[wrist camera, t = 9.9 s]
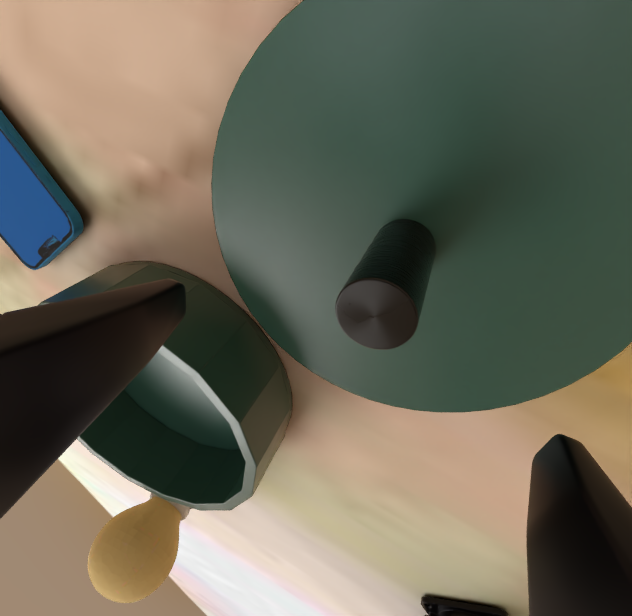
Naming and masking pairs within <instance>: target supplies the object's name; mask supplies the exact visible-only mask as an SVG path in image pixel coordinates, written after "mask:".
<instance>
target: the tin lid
mask: <svg viewBox="0 0 632 616" xmlns="http://www.w3.org/2000/svg"><path fill="white" fill-rule="evenodd" d="M211 184H212V208H213V215H214V221H215V228H216V234H217V237H218V241H219V245H220V249H221V252H222V256H223V258H224V261H225V264H226V266H227V269H228V271H229V274H230V276H231V278H232V280H233V282H234V284H235V286H236V288H237V290H238V292H239V294H240V296H241V298H242V299H243V301H244V302H245V304H246V305H247V307H248V309H249V310H250V312H251V313H252V315H253V316H254V317H255V318H256V320H257V321H258V322H259V324H260V325H261V326H262V327H263V329H264V330H265V331H266V332H267V333H268V334H269V335H270V336H271V337H272V338H273V340H274V341H275V342H276V343H277V344H278V345H279V346H280V347H281V348H283V349H284V350H285V351H286V352H287V353H288V354H289V355H291V356H292V357H293V358H294V359H295V360H296V361H298V362H299V363H301V364H302V365H303V366H305V367H306V368H308V369H309V370H310V371H312V372H313V373H315V374H316V375H318V376H320V377H322V378H323V379H325V380H327V381H328V382H330V383H332V384H334V385H336V386H338V387H340V388H342V389H344V390H346V391H349V392H351V393H353V394H356V395H359V396H361V397H364V398H367V399H369V400H372V401H376V402H380V403H383V404H387V405H391V406H395V407H400V408H406V409H412V410H419V411H430V412H471V411H481V410H490V409H495V408H500V407H506V406H511V405H516V404H519V403H522V402H525V401H529V400H532V399H535V398H539V397H542V396H544V395H547V394H549V393H551V392H554V391H556V390H558V389H561V388H563V387H566V386H568V385H570V384H572V383H573V382H575V381H577V380H579V379H581V378H582V377H584V376H586V375H588V374H590V373H591V372H593V371H595V370H596V369H598V368H599V367H601V366H602V365H603V364H605V363H606V362H608V361H609V360H610V359H612V358H613V357H614V356H616V355H617V354H619V353H620V352H621V351H622V350H623V349H624V348H626V347H627V346H628V345H629V344H630V343H631V342H632V0H303V1H302V2H301V3H300V4H299V5H298V6H296V7H295V8H294V9H293V10H292V11H291V12H290V13H288V14H287V15H286V16H285V17H284V18H283V19H282V20H281V21H280V22H279V23H278V25H277V26H276V27H275V28H274V29H273V30H272V32H271V33H270V34H269V35H268V36H267V37H266V38H265V40H264V41H263V42H262V43H261V44H260V46H259V47H258V49H257V50H256V52H255V53H254V55H253V56H252V58H251V59H250V61H249V63H248V64H247V66H246V67H245V69H244V70H243V72H242V73H241V75H240V77H239V80H238V82H237V84H236V86H235V88H234V90H233V92H232V94H231V96H230V99H229V101H228V103H227V106H226V109H225V112H224V115H223V118H222V121H221V125H220V128H219V131H218V136H217V141H216V147H215V152H214V157H213V170H212V183H211Z"/></svg>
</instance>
